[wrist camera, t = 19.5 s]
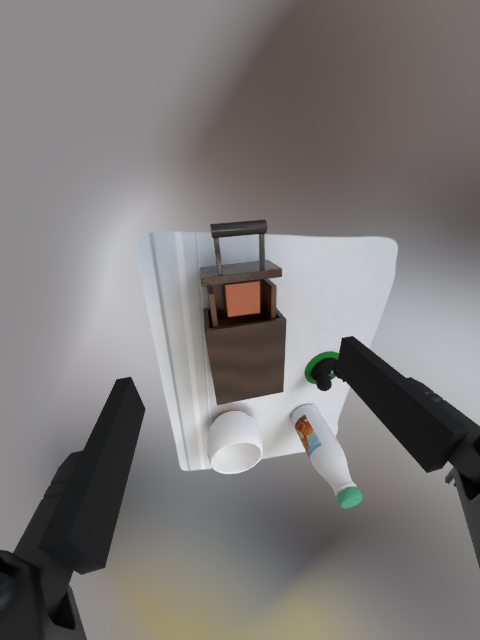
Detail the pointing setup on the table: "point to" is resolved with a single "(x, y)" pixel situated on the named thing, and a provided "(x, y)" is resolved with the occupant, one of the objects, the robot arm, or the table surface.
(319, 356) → the toy figurine
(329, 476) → the milk bottle
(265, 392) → the cabinet
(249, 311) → the block
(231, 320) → the drawer
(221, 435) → the cup
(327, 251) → the table surface
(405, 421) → the robot arm
